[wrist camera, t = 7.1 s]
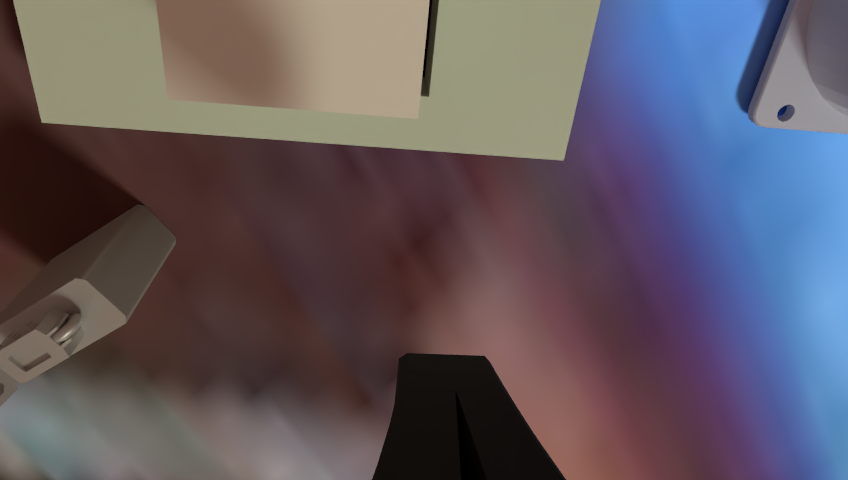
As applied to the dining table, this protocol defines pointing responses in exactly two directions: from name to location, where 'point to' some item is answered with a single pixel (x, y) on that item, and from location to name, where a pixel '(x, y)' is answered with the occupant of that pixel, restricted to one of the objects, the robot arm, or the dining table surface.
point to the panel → (433, 130)
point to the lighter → (81, 296)
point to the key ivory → (296, 53)
